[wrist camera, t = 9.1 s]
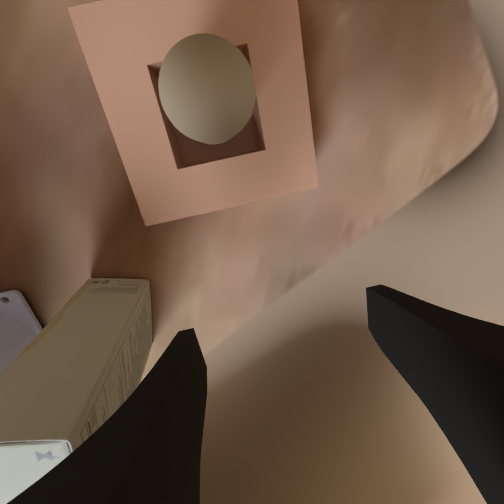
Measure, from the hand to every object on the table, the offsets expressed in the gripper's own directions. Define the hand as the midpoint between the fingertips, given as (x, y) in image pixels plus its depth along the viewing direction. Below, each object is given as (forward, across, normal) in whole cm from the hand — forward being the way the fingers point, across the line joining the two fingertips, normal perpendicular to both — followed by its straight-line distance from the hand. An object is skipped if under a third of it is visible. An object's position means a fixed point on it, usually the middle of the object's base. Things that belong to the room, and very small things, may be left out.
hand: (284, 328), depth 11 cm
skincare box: (+10, +11, +3) cm, 15 cm away
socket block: (+10, +1, -9) cm, 13 cm away
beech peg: (+9, +1, -9) cm, 13 cm away
